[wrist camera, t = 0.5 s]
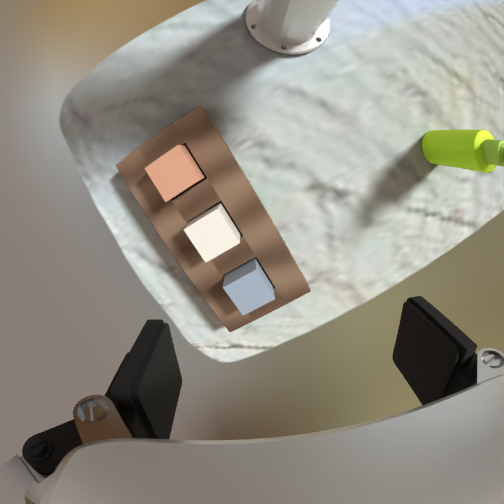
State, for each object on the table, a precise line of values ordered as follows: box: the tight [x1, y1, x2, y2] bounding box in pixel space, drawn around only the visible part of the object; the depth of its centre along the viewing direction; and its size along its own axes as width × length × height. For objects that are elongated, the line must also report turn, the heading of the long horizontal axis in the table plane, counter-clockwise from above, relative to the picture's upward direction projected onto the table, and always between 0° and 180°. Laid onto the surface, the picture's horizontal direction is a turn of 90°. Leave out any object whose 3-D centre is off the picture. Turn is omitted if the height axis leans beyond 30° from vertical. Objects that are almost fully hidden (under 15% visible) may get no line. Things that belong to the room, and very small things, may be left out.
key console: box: [116, 105, 311, 332], centre depth 39 cm, size 30×14×4 cm, turn 30°
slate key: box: [223, 258, 275, 315], centre depth 39 cm, size 5×5×4 cm
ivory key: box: [184, 203, 240, 262], centre depth 36 cm, size 5×5×4 cm
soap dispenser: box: [422, 130, 504, 173], centre depth 28 cm, size 6×7×20 cm
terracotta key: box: [145, 145, 205, 202], centre depth 33 cm, size 5×5×4 cm
